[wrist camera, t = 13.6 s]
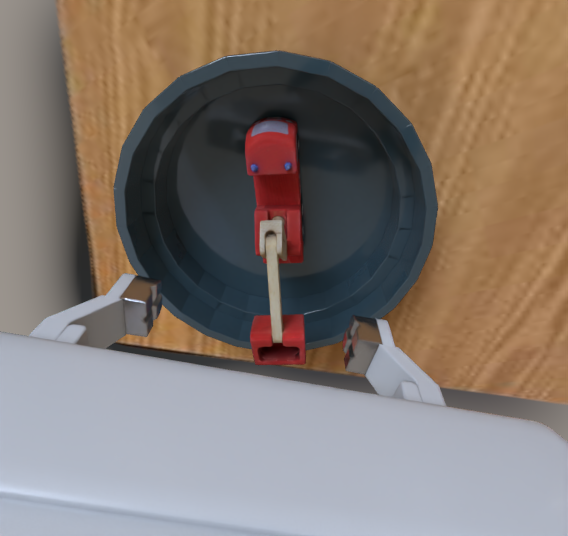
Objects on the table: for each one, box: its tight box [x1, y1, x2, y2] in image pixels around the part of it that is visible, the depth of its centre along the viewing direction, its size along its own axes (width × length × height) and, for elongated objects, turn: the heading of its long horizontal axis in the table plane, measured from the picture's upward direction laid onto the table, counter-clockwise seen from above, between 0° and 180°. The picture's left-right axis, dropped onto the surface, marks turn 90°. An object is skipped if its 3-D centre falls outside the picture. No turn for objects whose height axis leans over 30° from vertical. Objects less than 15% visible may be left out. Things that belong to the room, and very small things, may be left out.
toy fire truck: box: [245, 117, 306, 365], centre depth 23 cm, size 3×14×10 cm, turn 4°
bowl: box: [114, 51, 438, 350], centre depth 25 cm, size 20×20×6 cm
